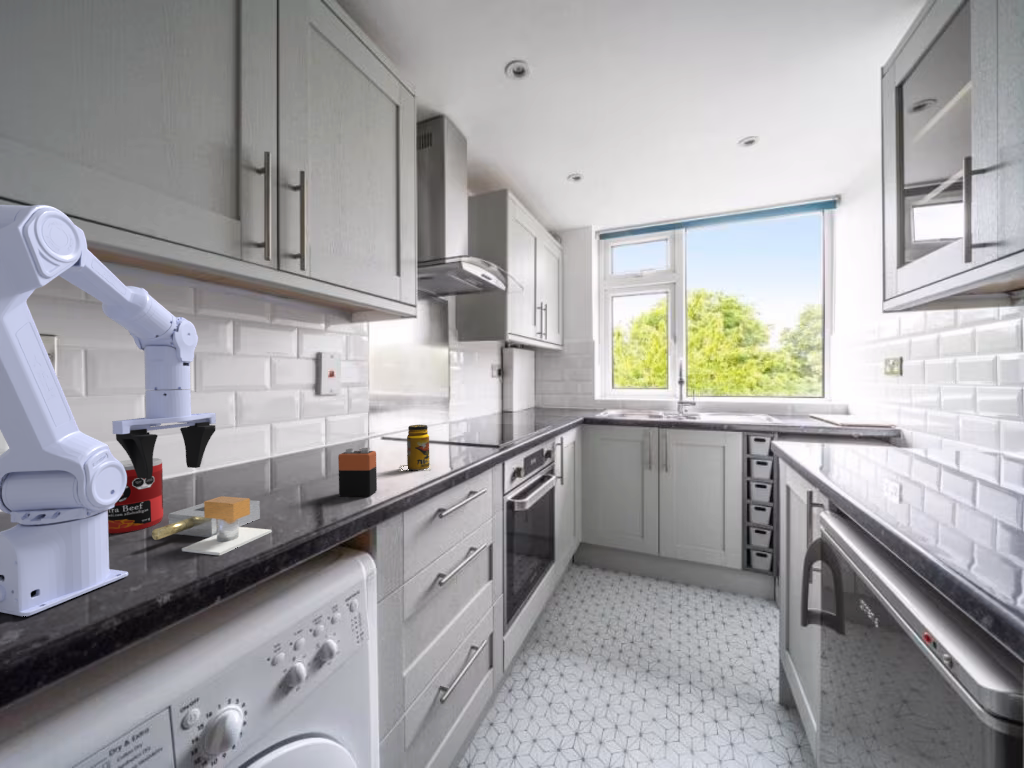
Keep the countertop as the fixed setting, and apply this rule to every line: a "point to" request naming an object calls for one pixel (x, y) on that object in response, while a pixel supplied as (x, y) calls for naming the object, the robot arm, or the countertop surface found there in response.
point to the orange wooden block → (227, 515)
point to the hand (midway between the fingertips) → (170, 472)
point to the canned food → (138, 501)
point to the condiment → (417, 448)
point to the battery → (357, 473)
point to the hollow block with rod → (199, 522)
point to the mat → (220, 548)
